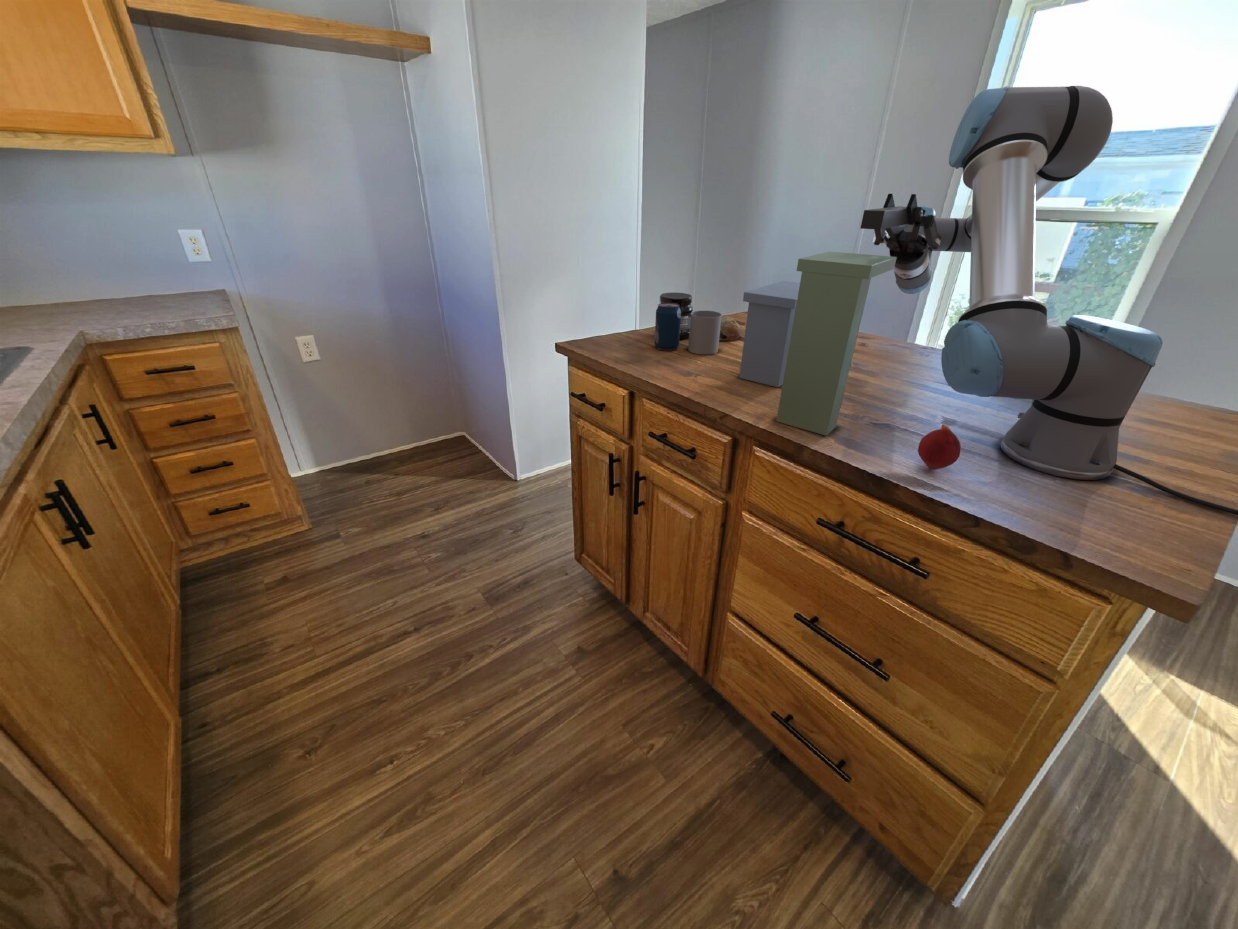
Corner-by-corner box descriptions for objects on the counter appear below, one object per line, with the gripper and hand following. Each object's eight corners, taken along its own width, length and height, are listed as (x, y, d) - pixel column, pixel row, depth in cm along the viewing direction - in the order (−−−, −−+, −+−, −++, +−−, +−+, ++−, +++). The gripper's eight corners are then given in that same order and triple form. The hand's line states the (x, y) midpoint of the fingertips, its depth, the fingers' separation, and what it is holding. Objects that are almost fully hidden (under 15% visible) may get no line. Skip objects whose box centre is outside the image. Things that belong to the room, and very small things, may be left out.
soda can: (683, 347, 144) (686, 304, 138) (669, 352, 140) (671, 308, 134) (664, 343, 148) (666, 300, 142) (649, 348, 144) (651, 304, 138)
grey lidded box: (814, 368, 129) (830, 286, 119) (780, 389, 115) (795, 299, 105) (770, 358, 135) (782, 280, 126) (733, 377, 122) (743, 291, 112)
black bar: (912, 223, 105) (916, 206, 103) (880, 229, 90) (884, 210, 88) (894, 222, 106) (898, 206, 105) (860, 228, 92) (864, 209, 90)
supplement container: (663, 329, 161) (665, 290, 155) (695, 333, 157) (698, 293, 152) (651, 337, 153) (652, 296, 147) (684, 342, 149) (687, 300, 143)
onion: (952, 466, 84) (969, 423, 80) (951, 481, 80) (968, 436, 76) (914, 457, 87) (928, 415, 83) (910, 471, 83) (925, 427, 79)
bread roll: (705, 350, 154) (707, 329, 148) (706, 328, 160) (708, 307, 153) (738, 352, 153) (741, 331, 146) (738, 329, 158) (742, 308, 152)
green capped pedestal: (856, 414, 103) (896, 256, 88) (831, 437, 94) (871, 265, 79) (800, 400, 110) (828, 251, 95) (771, 419, 101) (798, 258, 86)
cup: (717, 355, 138) (721, 318, 133) (687, 353, 139) (689, 316, 134) (718, 346, 145) (722, 311, 140) (689, 345, 146) (692, 309, 142)
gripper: (943, 274, 114) (939, 221, 94) (866, 267, 123) (848, 217, 104) (955, 241, 113) (955, 181, 94) (878, 236, 122) (862, 181, 103)
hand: (899, 200), depth 99 cm, fingers closed on black bar, 3 cm apart
